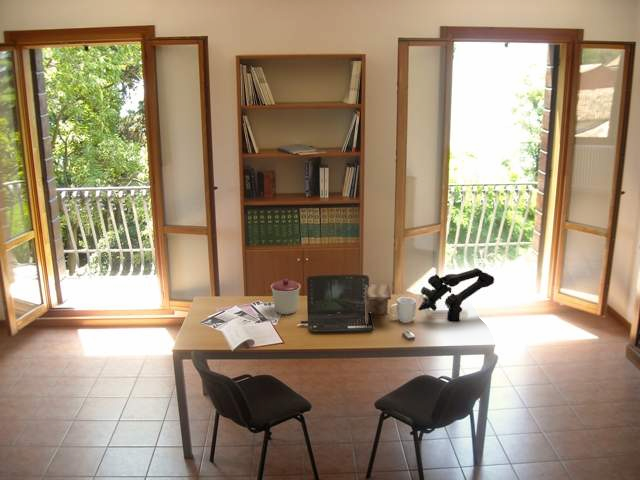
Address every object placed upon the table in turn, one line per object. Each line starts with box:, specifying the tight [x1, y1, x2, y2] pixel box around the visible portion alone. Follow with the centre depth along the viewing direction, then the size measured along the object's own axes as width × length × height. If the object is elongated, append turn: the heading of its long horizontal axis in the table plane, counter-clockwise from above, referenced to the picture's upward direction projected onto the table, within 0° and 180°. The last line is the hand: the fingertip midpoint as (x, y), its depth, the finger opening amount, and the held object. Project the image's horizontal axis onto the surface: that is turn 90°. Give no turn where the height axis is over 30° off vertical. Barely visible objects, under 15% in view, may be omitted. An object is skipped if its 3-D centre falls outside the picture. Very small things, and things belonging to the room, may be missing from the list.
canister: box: [270, 278, 301, 315], centre depth 370 cm, size 18×18×21 cm
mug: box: [389, 296, 417, 324], centre depth 359 cm, size 15×11×13 cm
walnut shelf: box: [364, 283, 392, 325], centre depth 359 cm, size 14×20×18 cm
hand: (418, 309), depth 358 cm, fingers closed
